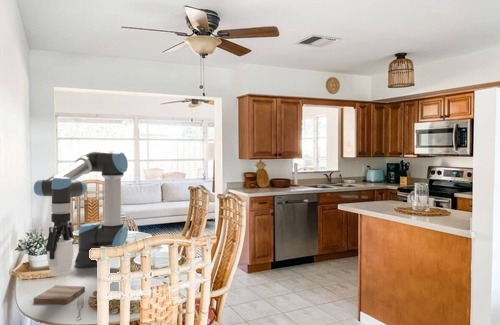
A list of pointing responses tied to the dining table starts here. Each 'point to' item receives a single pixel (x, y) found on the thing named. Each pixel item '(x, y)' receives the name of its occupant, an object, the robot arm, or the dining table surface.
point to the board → (59, 294)
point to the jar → (62, 257)
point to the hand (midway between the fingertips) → (60, 262)
